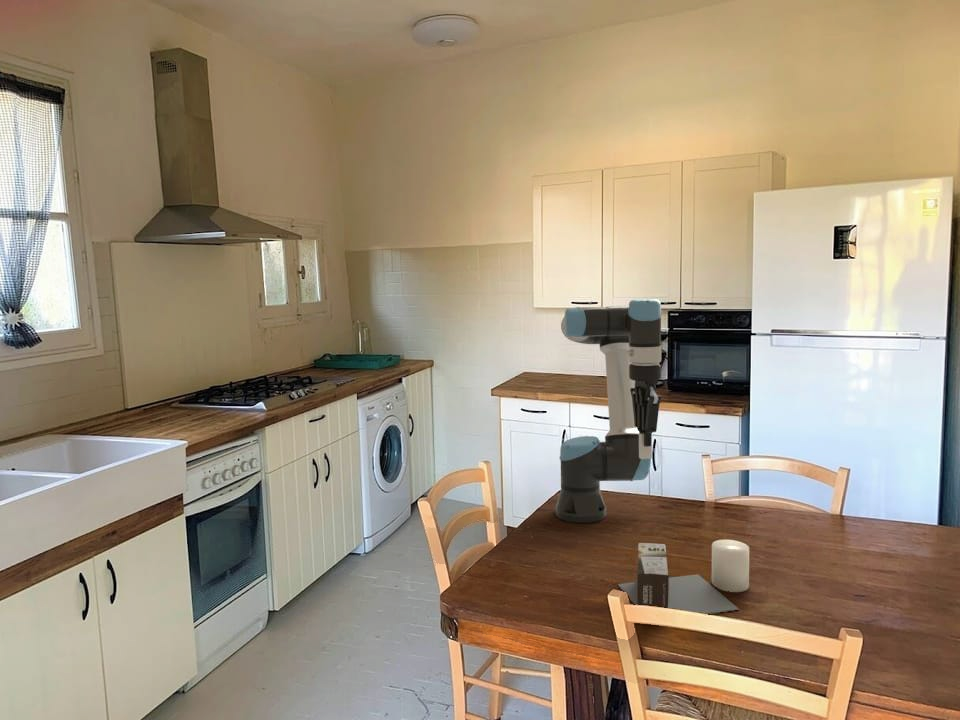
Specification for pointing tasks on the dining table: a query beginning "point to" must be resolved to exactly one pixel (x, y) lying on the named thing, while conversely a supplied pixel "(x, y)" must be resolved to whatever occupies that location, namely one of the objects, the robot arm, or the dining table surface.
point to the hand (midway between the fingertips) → (645, 457)
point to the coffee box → (652, 575)
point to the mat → (689, 595)
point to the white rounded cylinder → (730, 565)
